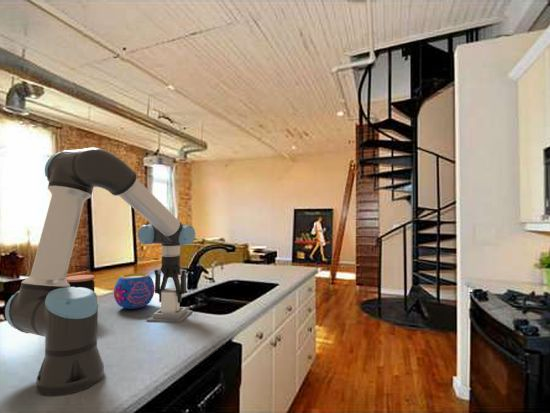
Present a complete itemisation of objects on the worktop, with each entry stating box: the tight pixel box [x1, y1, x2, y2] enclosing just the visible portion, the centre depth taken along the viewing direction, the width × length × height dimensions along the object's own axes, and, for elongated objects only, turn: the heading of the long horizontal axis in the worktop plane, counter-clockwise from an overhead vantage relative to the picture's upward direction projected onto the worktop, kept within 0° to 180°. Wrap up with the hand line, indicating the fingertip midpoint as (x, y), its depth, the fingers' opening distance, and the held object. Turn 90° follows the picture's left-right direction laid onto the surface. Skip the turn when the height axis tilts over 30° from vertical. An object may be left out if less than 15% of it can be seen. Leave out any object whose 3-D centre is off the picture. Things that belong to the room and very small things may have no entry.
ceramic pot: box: [113, 272, 155, 310], centre depth 153 cm, size 18×18×15 cm
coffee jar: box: [66, 274, 95, 292], centre depth 133 cm, size 11×11×18 cm
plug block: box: [160, 287, 177, 313], centre depth 140 cm, size 6×6×9 cm
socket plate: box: [146, 306, 193, 324], centre depth 140 cm, size 14×14×3 cm
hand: (170, 309), depth 140 cm, fingers closed on plug block, 5 cm apart
